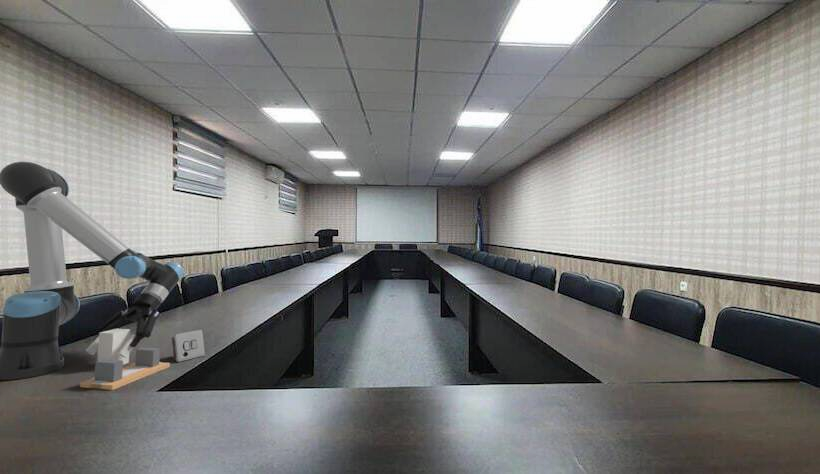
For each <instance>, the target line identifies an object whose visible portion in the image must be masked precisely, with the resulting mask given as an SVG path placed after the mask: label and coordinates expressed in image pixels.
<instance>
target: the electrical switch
mask: <svg viewBox="0 0 820 474" xmlns="http://www.w3.org/2000/svg"><path fill="white" fill-rule="evenodd" d="M171 343H172V352H173V353H172V354H173V360H174V361H176V362H177V363H181V362H184V361H188V360H192V359H196V358H200V357H204V356H205V354H206V353H205V352H206V351H205V343H204V335H203V330H202V329H198V330H197V329H196V330H193V331H187V332H181V333H176V334H174V335H173V337H172V338H171Z"/></svg>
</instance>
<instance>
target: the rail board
mask: <svg viewBox="0 0 820 474" xmlns="http://www.w3.org/2000/svg"><path fill="white" fill-rule="evenodd" d="M160 355H161V347H160V348H159V347H140V348H137V349H136V351H135V363H132V364H131V365H127V366H124V364H123V361H122V360H109V359H104V360H100V361H98V360H97V361H95V363H94V364H95V367H94V377H92V378H90V379H87V380H84V381H82V382H80V383H79V384H80V385H79V387H80V388H87V389H88V388H89V389H98V390H110V391H113V390H115V389H118V388H120V387H123V386H126V385H128V384H131V383H134V382H135V381H138V380H141V379H143V378H146V377H147V376H150V375H153V374H155V373H158V372H160V371H163V370H165V369H168V368H170V367H171V363H170V362H162V361H160V357H161V356H160ZM123 366H124V367H123Z"/></svg>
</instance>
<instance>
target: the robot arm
mask: <svg viewBox="0 0 820 474" xmlns="http://www.w3.org/2000/svg"><path fill="white" fill-rule="evenodd" d="M0 186H1V187H2V189H3V191H5V192H6V193H8V194H9V195H10V196H12V197H14V198H15V199H14V200H15V208H16V209H17V210H20V211H21V212H23V220H24V231H25V232H24V233H25V240H26V241H25V243H26V251H27V262H28V263H27V264H28V272H29V273H28V274H29V286H27V287H26V288H25V289H24V290H23V293H17V294H13V295H11V296H9V297H8V298H6V299H5V301H4V306H3V308H2V328H1V329H2V330H1V343H0V344H1V345H0V381H10V380H20V379H28V378H34V377H37V376H42V375H46V374H50V373H53V372H56V371H59V370H61V369H62V368H64V365H65V357H64V356H63V351H62V350H61V347H60V345H59V341H58V340H59V328H60V326H61V325H64V324H67V323H68V322H69V321H71V320H72V319H73V318H74V317H75V316H76V315H77V314H78V312H79V311H80V307H81V302H80V299H79V298H78V296H77V295H76V294H75V289H74V284H73V283H71V282H70V281H68V280H67V268H66V266H67V265H66V257H65V245H64V237H63V235H64V234H63V231H65V232H66V233H67V234H68V235H70V236H71V237H72V238H74V239H75V240H76V241H78V242H79V243H80V244H81V245H83V246H84V247H85V248H87V249H88V250H90V251H91V252H92V253H93V254H95V255H96V256H97V257H98V258H100V259H101V260H102V261H104V262H105V263H106V264H108V265H109V266H110V267H111V268H112V269H113V270H114V271H115V273H116V274H117V276H118V277H120V278H122V279H127V280H129V279H130V280H132V279H133V280H134V279H137V278H141V279H142V280H145V281H147V282H148V284H147V285H146V286H145V287H144V288H143V290H142V291H141V292H140V293H139V294H138V295H137V296H136V298H134V300H133V301H132V306H131V307H130V308H128V309H126V308H124V307H121V308H119V310H118V311H117V312H116V313H115V314H114V315H113V316H111V317H110V318H109V319H107V320H106V321H104V323H102V324H101V325H99V326H98V327H97V328H96V329H95V331H96V332H97V333H98V334H97V335H96V336H95V338H94V339H93V340H92V343H91V344H89V346H88V347H87V348H86V350H85V352H86V353H87V354H89V355H91V356H94V355H95V354H96V353H97V352H98V346H99V333H100V332H104V331H108V330H113V329H117V328H118V329H121V328H122V327H123V326H125V325H128V324H130V323H134V322H135V323H136V331H135V334H131V335H130V339H129V340H128V341H127V343H126V344H125V345H124V347H123V348H122V349H121V350H120V352H119V354H120V355H121V356H122V357H124V358H126V357H127V355H128V354H129V355H130V353H131V351H132V350H133V349H134V348H136V346H138V344H139V343H140V341H141V340H143V339H144V338H147V339H148V338H150V337H151V335H152V333H153V329H154V326H155V324H156V321H157V319H158V318H159V316H160V312H158V308H159V307H160V306H161V304H162V303H163V302H164V301H165V300H166V298H167V297H168V296H169V294H171V291H172V290H173V289H174V288H175V287H176V286H177V284H178V283H179V282H180V280H181V279H182V277H183V275H184V274H185V269H184V268H183V267H182V266H181V265H180V264H178V263H176V262H172V261H170V262H166V263H165V264H164V263H163V264H162V263H160V262H158V261H156V260H154V259H152V258H151V257H148V256H146V255H144V254H143V253H141V252H138V251H137V250H133V249H130V247H128V246H127V245H126V244H124V243H123V242H122V241H121V239H118V238H117V237H116V236H115V235H114V234H112V233H111V232H110V231H109V230H107V229H106V227H104V226H102V225H101V223H99V222H98V221H96V220H95V219H94V218H93V217H91V216H90V215H89V214H88V213H86V212H85V211H84V210H83V209H81V208H80V207H79V206H78V205H77V204H76V203H74V202H73V201H72V200H71V199H69V198H68V195H69V192H70V187H69V183H68V181H67V180H66V178H65V177H63V176H62V175H61V174H60V173H59V172H56V171H54V170H52V169H50V168H46V167H45V166H42V165H40V164H37V163H35V162H30V161H29V162H28V161H17V162H12V163H9V164H7V165H5V166H4V167H3V168H2V170H0Z"/></svg>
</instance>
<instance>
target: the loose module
mask: <svg viewBox="0 0 820 474" xmlns="http://www.w3.org/2000/svg"><path fill="white" fill-rule="evenodd" d="M98 334H99V346H98V350H97V361H100V360H104V359H109V360H122V361H123V365H126V364H129V363H130V362H129V361H130V353H129V354H128V355H127V357H126V358H124V357H122V356H121V355H120V354H119V352H120V350H121V349H122V348H123V347H124V345H125V344H126V343H127V341H128V340H129V339H130V338H131V334H132V333H131V329H130V328H119V329H118V328H117V329H113V330H108V331H104V332H100V333H99V332H98Z"/></svg>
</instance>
